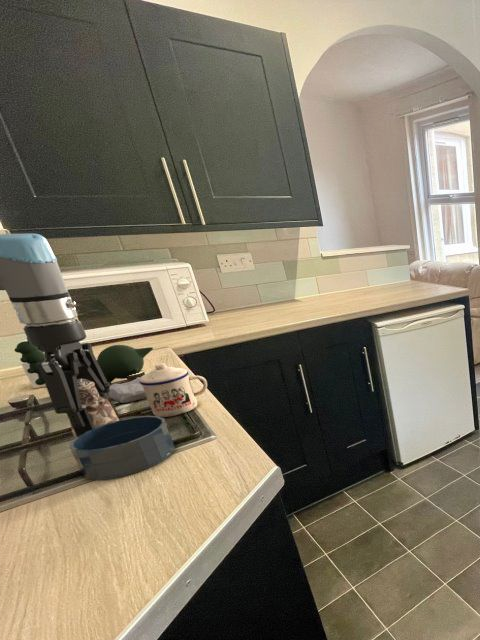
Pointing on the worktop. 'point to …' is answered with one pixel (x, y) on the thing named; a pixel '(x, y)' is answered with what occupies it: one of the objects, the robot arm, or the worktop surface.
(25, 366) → the container
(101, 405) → the figurine
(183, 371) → the teacup with lid
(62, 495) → the worktop surface
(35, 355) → the toy figurine
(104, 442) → the blue oval tub
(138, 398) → the stone block
